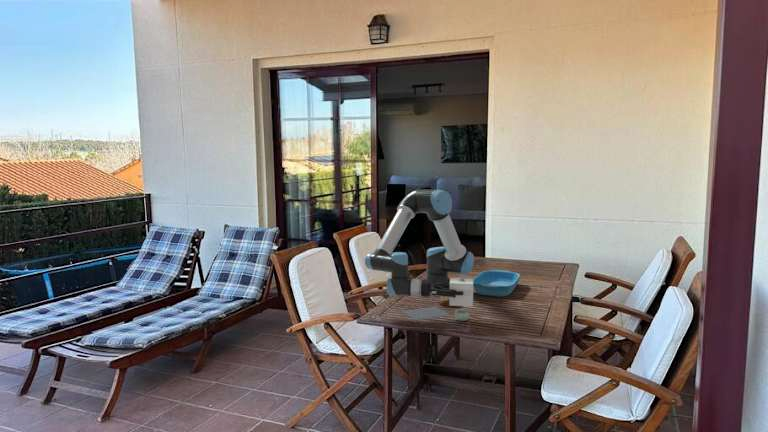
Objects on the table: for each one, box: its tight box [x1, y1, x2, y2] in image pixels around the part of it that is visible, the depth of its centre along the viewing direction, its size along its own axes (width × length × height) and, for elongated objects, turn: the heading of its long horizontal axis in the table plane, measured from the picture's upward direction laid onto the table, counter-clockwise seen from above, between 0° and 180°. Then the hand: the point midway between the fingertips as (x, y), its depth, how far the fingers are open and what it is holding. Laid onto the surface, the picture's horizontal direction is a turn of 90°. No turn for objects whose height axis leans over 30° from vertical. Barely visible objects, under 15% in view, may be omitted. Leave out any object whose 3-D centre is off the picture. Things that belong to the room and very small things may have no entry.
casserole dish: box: [472, 269, 521, 297], centre depth 279 cm, size 37×22×7 cm, turn 155°
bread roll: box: [438, 296, 457, 308], centre depth 250 cm, size 10×10×8 cm
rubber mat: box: [402, 306, 451, 321], centre depth 236 cm, size 18×14×1 cm
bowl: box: [454, 308, 470, 322], centre depth 227 cm, size 6×6×4 cm
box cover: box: [449, 277, 474, 308], centre depth 225 cm, size 10×10×11 cm
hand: (471, 290), depth 224 cm, fingers closed on box cover, 10 cm apart
